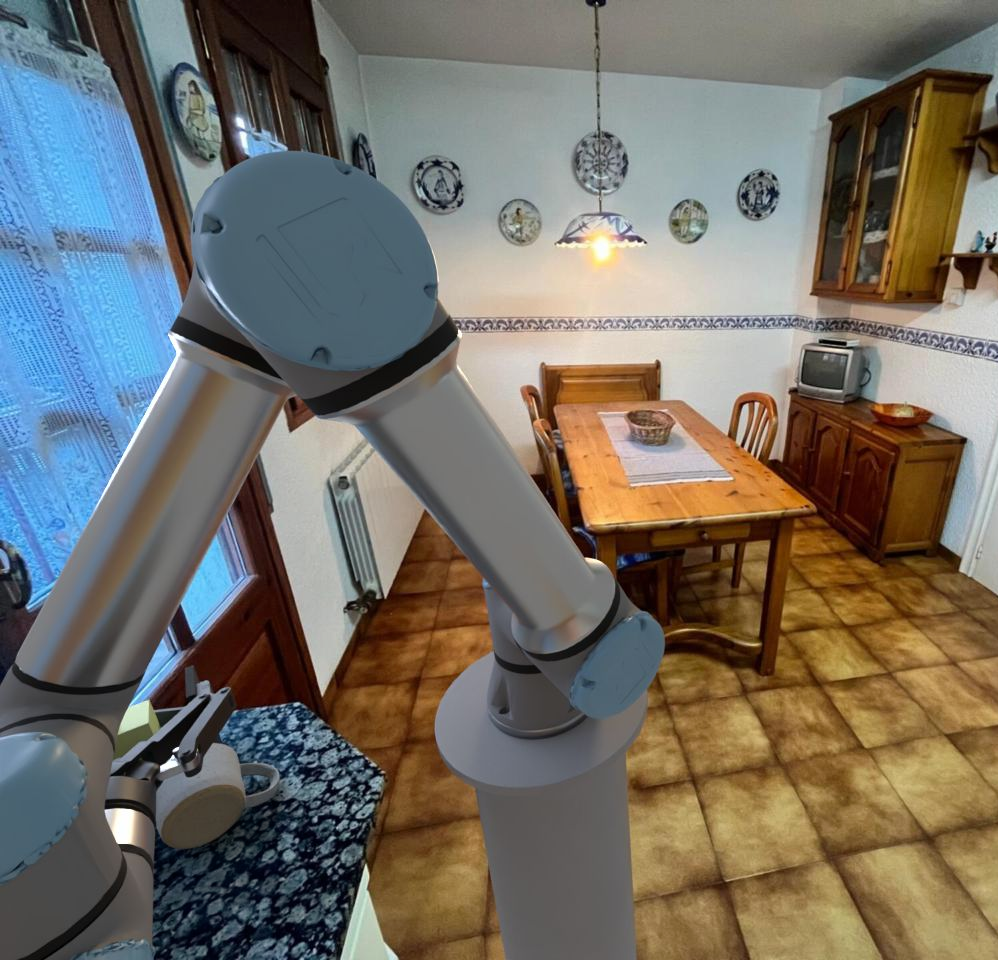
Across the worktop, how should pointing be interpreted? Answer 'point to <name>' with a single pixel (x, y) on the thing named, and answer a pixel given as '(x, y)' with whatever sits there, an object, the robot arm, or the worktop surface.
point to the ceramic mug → (208, 798)
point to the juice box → (136, 728)
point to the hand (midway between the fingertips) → (112, 705)
